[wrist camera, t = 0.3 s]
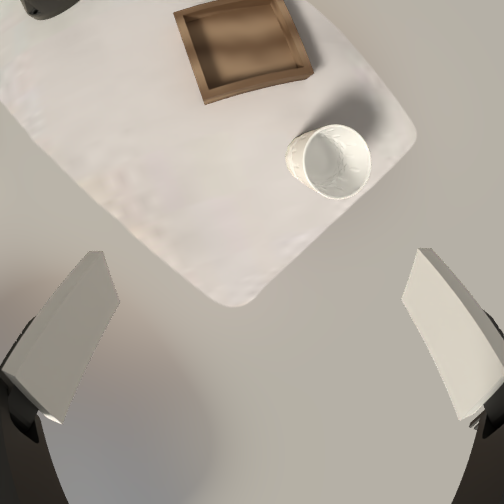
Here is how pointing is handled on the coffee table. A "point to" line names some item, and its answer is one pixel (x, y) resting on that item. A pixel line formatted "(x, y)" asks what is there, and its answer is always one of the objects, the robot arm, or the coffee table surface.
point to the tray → (241, 46)
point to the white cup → (330, 161)
